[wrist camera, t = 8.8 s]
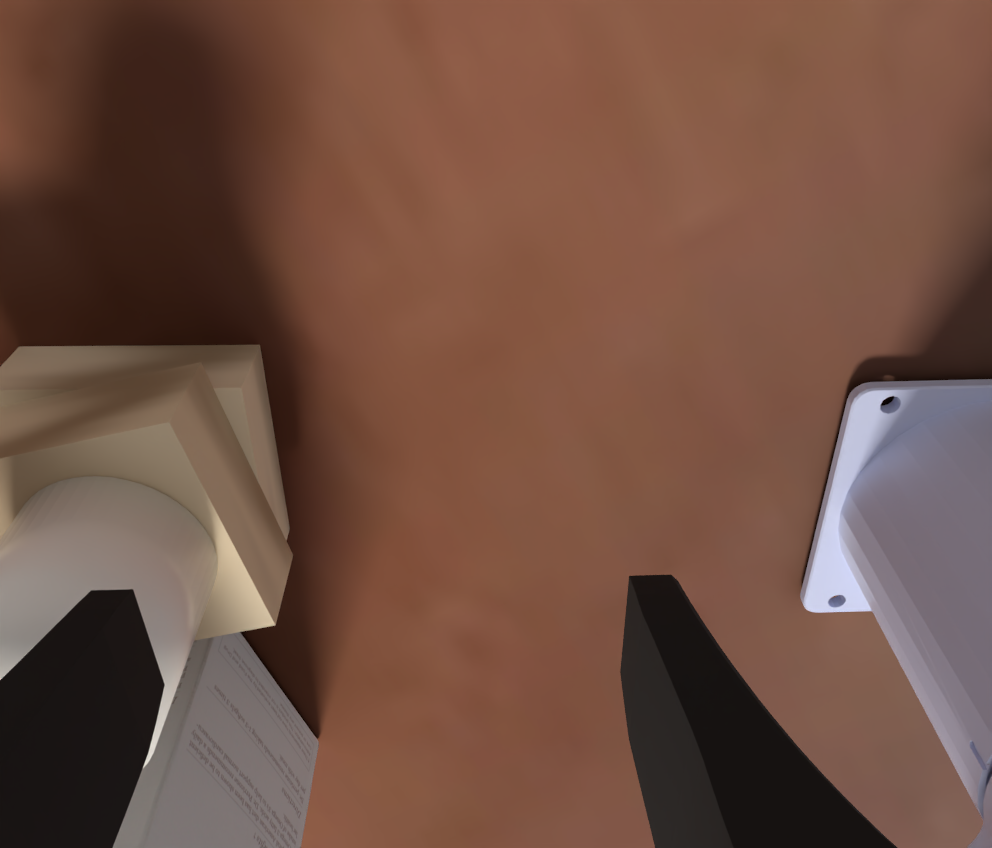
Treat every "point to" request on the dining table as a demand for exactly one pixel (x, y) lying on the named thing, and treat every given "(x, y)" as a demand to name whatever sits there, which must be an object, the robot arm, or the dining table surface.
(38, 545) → the ceramic jar
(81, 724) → the robot arm
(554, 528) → the dining table surface
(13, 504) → the oak slab top
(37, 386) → the oak slab bottom
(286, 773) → the supplement box
